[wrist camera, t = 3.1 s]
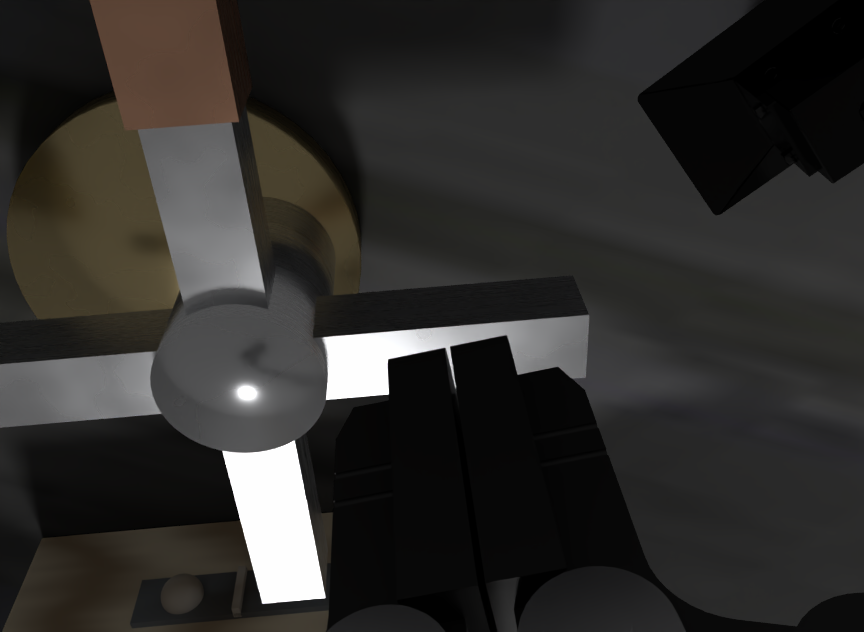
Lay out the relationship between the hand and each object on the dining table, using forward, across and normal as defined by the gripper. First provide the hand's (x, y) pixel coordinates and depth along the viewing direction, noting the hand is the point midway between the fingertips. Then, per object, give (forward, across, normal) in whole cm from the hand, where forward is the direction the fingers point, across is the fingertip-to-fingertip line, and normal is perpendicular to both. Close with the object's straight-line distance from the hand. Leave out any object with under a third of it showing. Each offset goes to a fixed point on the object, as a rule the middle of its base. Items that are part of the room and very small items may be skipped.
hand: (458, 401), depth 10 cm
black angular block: (+18, -12, +4) cm, 22 cm away
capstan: (+17, +6, +5) cm, 19 cm away
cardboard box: (+17, +11, +22) cm, 30 cm away
